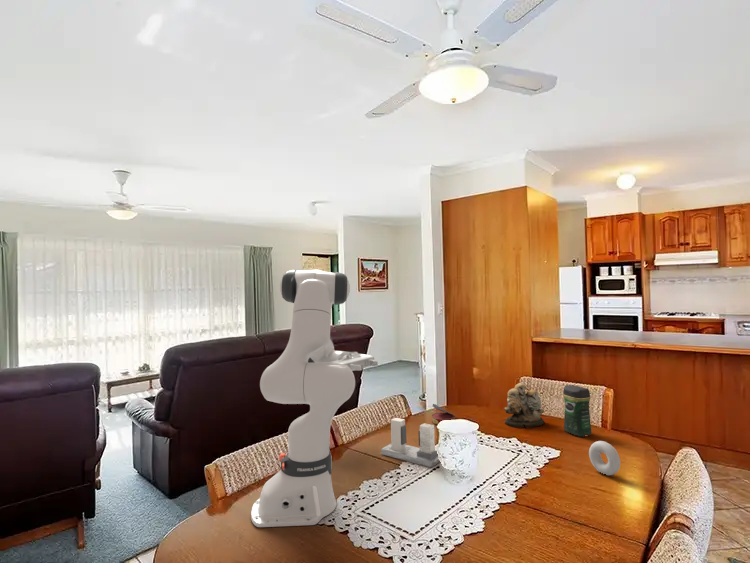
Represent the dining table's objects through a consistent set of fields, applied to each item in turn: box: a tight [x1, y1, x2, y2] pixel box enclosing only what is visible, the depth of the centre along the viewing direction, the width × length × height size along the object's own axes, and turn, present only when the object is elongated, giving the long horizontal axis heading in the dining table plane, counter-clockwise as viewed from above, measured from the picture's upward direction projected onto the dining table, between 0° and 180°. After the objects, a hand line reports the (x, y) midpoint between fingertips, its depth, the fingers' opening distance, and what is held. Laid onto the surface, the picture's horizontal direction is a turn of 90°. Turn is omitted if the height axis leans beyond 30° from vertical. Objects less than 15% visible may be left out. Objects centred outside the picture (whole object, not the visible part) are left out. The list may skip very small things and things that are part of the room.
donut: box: [588, 440, 621, 476], centre depth 131 cm, size 10×4×10 cm, turn 23°
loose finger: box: [390, 417, 407, 452], centre depth 150 cm, size 5×3×12 cm, turn 53°
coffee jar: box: [562, 384, 592, 437], centre depth 167 cm, size 10×8×19 cm
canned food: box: [431, 403, 456, 426], centre depth 184 cm, size 11×10×10 cm
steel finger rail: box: [380, 422, 440, 468], centre depth 147 cm, size 20×8×12 cm, turn 53°
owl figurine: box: [503, 382, 545, 428], centre depth 180 cm, size 18×12×17 cm, turn 103°
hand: (369, 365), depth 158 cm, fingers open, 8 cm apart
